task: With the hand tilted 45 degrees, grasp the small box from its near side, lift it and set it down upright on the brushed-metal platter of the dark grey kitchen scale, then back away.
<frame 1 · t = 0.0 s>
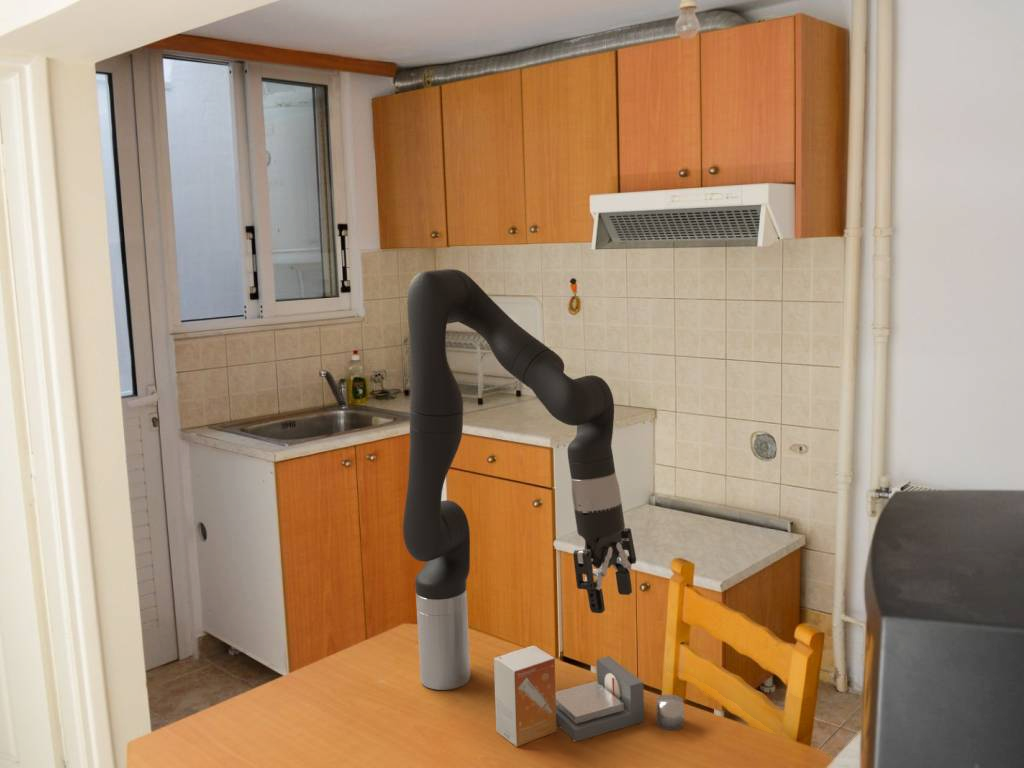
hand: (612, 603, 149), 22 cm above the table, tool pointing down, fingers open, 8 cm apart
small box: (526, 733, 154), on the table
scale base: (593, 716, 158), on the table
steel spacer: (670, 723, 155), on the table
platter: (586, 701, 157), point 3 cm above the table, slide at -0.2 cm
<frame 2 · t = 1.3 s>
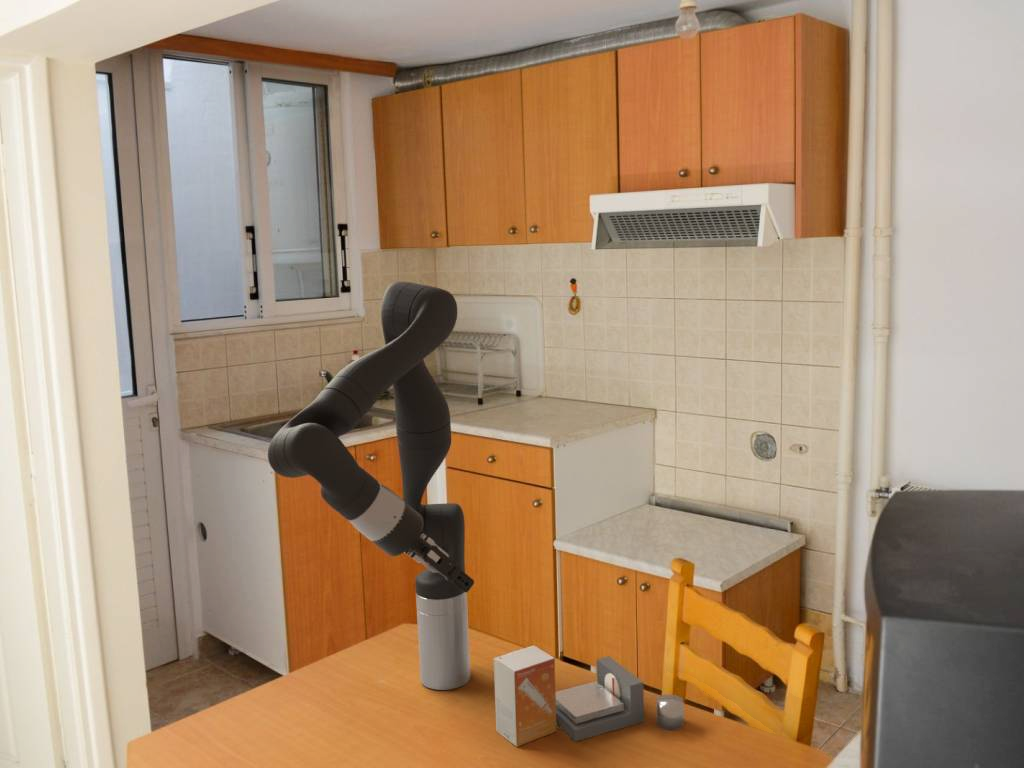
hand: (457, 578, 145), 29 cm above the table, tool tilted 45°, fingers open, 8 cm apart
nothing on the table moved.
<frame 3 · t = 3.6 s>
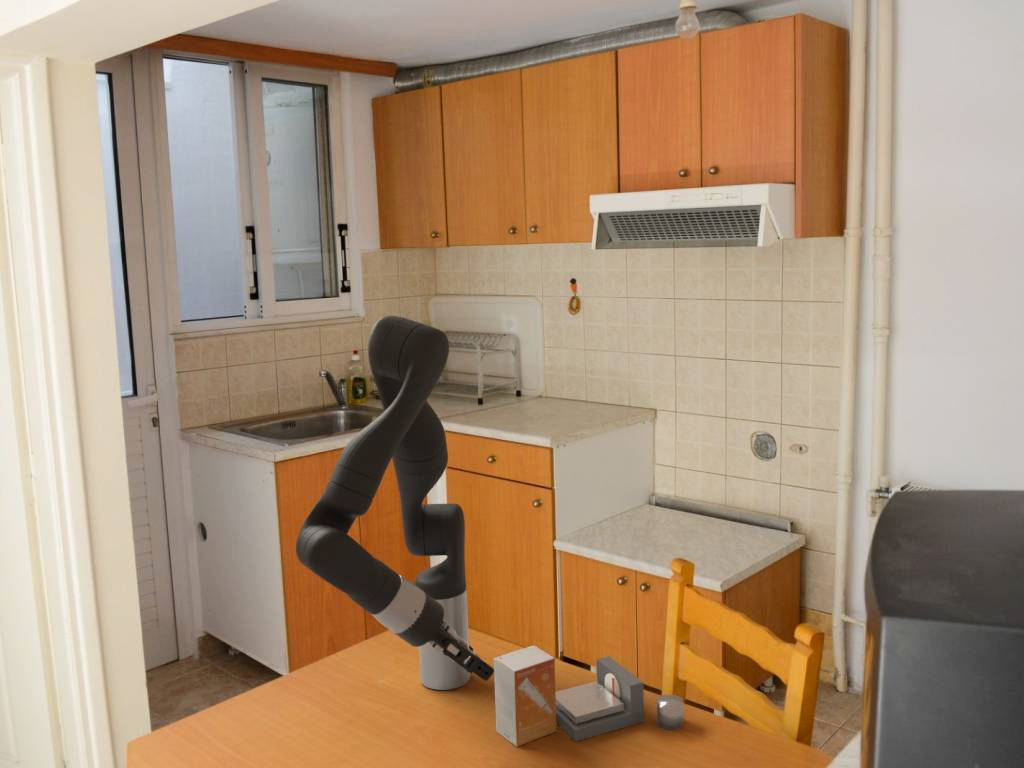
hand: (479, 664, 149), 14 cm above the table, tool tilted 45°, fingers open, 8 cm apart
nothing on the table moved.
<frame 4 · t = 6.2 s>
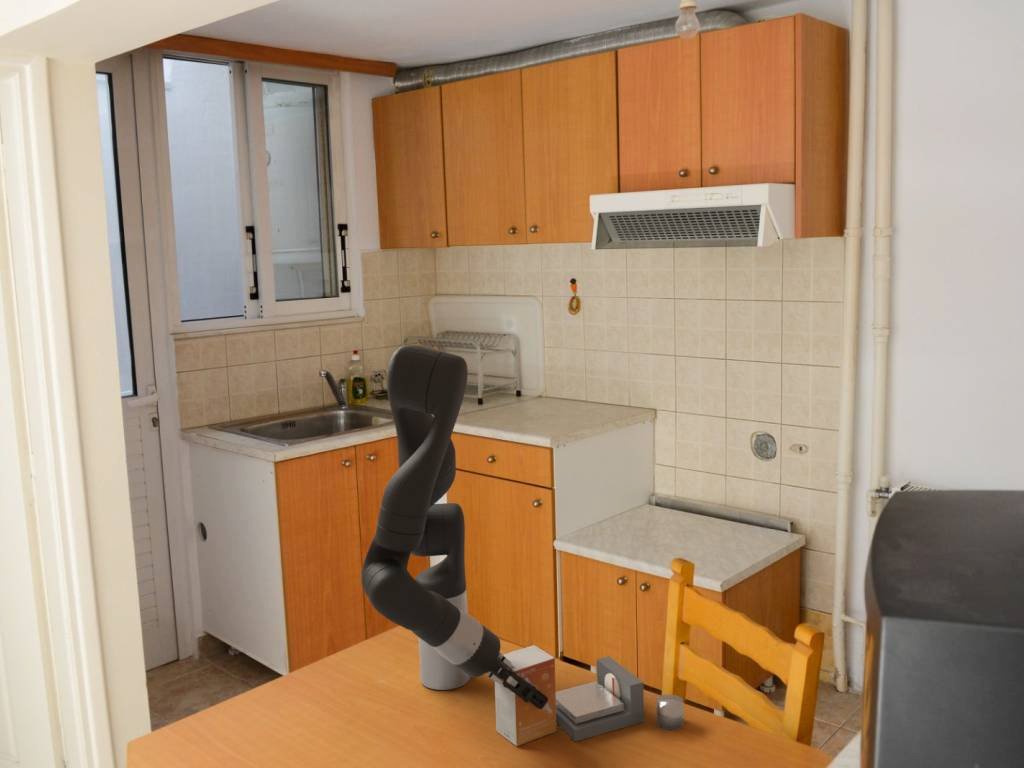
hand: (533, 693, 154), 6 cm above the table, tool tilted 45°, fingers closed on small box, 7 cm apart
small box: (526, 733, 154), on the table, touching gripper
everything else where it was.
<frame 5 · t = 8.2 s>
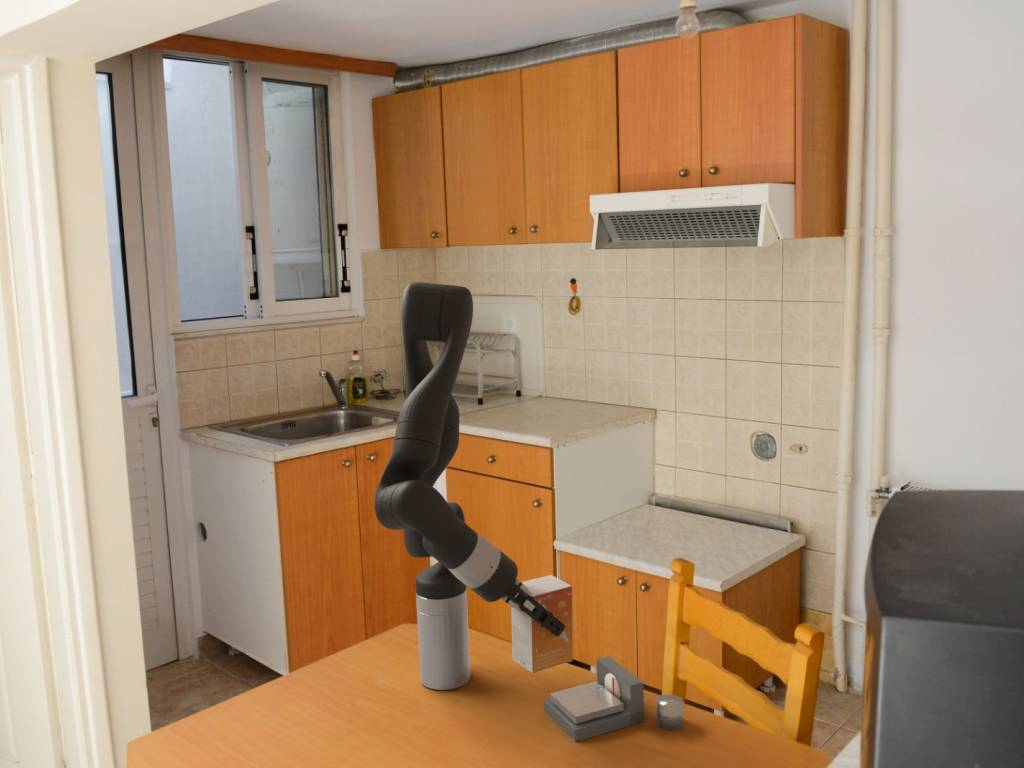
hand: (550, 622, 153), 18 cm above the table, tool tilted 45°, fingers closed on small box, 7 cm apart
small box: (542, 662, 153), point 12 cm above the table, touching gripper
everything else where it was.
when the fingers open (11 cm above the table, at t = 10.6 s): small box drops 2 cm, resting on platter.
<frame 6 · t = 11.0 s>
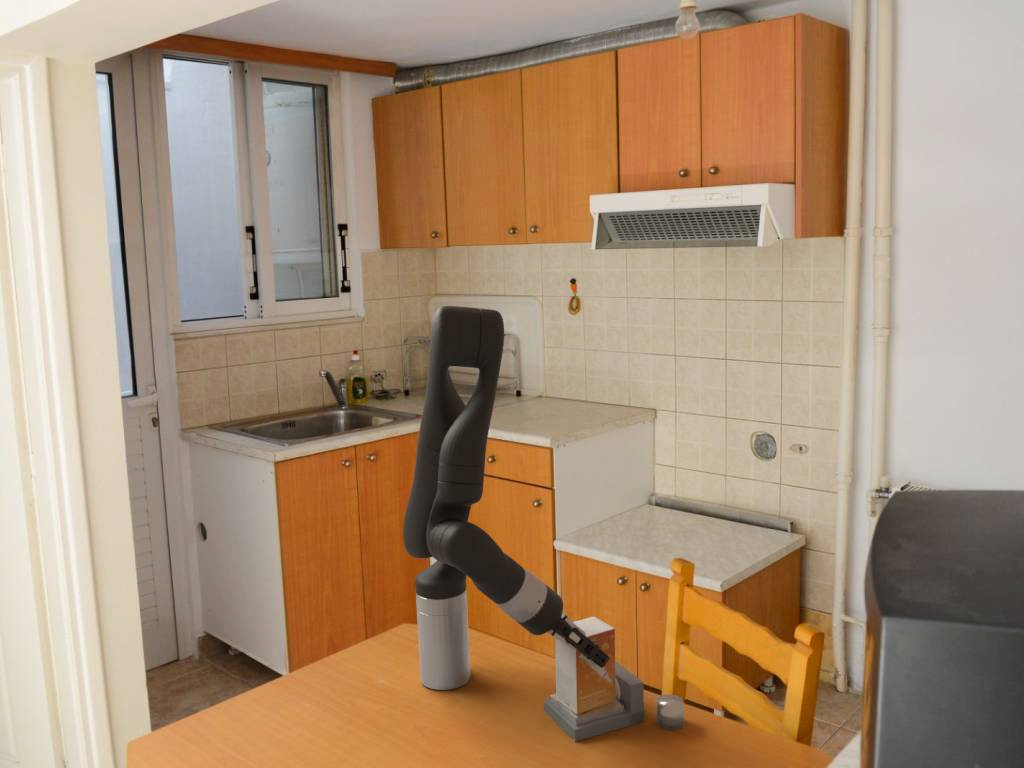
hand: (592, 652, 157), 11 cm above the table, tool tilted 45°, fingers open, 8 cm apart
small box: (586, 702, 157), point 3 cm above the table, touching platter
platter: (586, 703, 157), point 3 cm above the table, slide at -0.5 cm, touching small box
everything else where it was.
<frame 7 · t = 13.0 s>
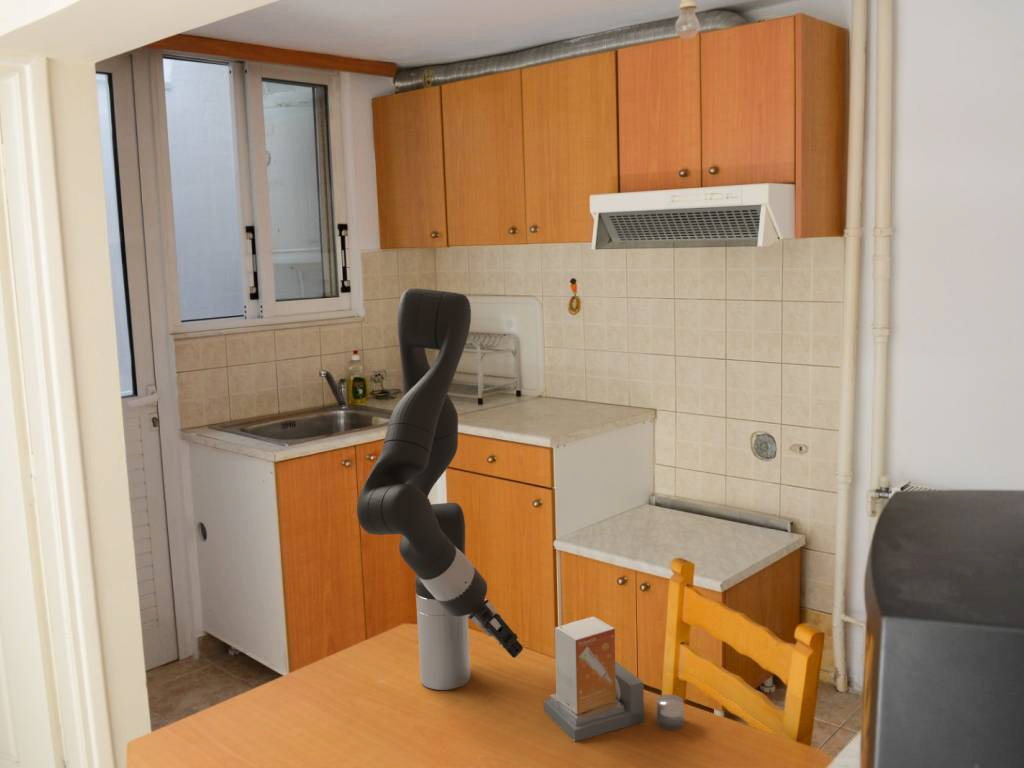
hand: (504, 640, 151), 16 cm above the table, tool tilted 35°, fingers open, 8 cm apart
nothing on the table moved.
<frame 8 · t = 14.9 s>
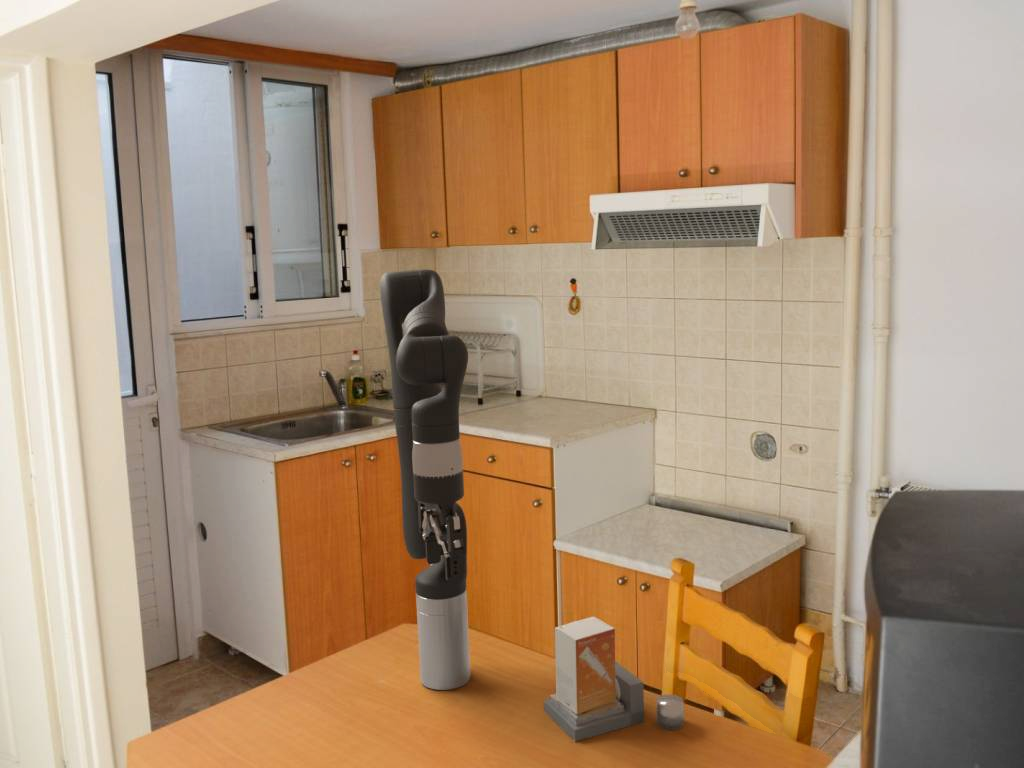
hand: (443, 571, 144), 30 cm above the table, tool pointing down, fingers open, 8 cm apart
nothing on the table moved.
at the end: small box inside the target area on the platter (0.4 cm from its centre), point 1.0 cm above the platter's base; small box tilted 0°; the gripper is holding nothing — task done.
